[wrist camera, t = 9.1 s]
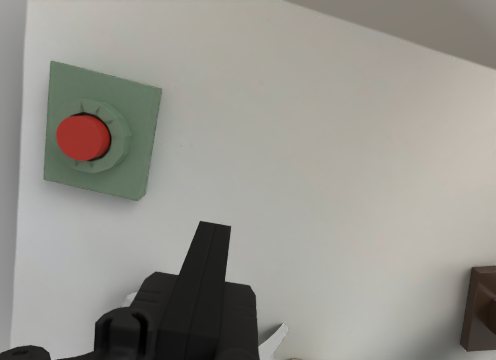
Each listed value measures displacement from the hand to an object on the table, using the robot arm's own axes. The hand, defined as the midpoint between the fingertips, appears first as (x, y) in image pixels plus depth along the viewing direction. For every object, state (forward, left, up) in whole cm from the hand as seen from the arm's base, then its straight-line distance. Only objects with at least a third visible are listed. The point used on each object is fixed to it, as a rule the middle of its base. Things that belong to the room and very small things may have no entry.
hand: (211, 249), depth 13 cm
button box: (+10, -10, -18) cm, 23 cm away
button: (+10, -10, -15) cm, 20 cm away
